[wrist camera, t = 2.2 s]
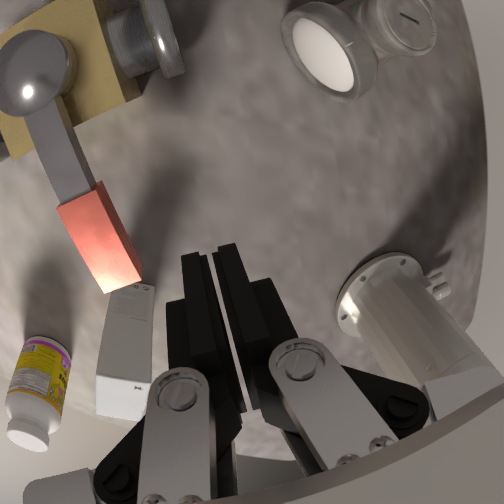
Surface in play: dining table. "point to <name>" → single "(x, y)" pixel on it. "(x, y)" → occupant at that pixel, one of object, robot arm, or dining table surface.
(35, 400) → the supplement bottle
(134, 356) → the skincare box
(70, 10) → the valve
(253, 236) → the dining table surface
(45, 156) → the lever
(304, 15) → the pipe fitting
